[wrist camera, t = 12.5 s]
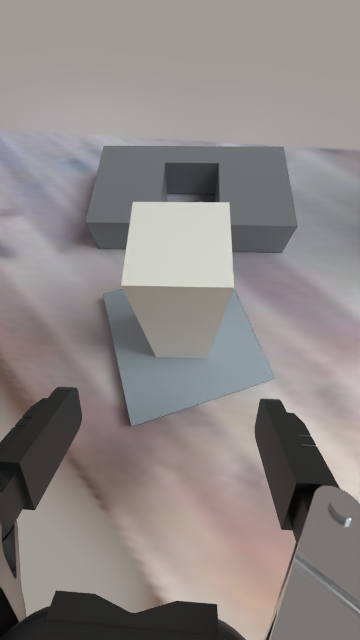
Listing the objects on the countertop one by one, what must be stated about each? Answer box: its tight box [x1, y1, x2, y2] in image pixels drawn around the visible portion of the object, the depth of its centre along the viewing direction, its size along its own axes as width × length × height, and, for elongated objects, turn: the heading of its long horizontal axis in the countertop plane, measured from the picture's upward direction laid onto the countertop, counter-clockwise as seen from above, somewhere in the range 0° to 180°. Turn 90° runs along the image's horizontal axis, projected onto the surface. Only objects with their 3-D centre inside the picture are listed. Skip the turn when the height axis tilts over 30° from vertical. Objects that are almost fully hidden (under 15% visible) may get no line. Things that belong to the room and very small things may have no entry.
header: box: [85, 146, 297, 253], centre depth 24 cm, size 18×10×4 cm, turn 87°
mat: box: [103, 289, 275, 426], centre depth 20 cm, size 11×11×1 cm
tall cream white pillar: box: [121, 202, 234, 359], centre depth 14 cm, size 4×4×11 cm
